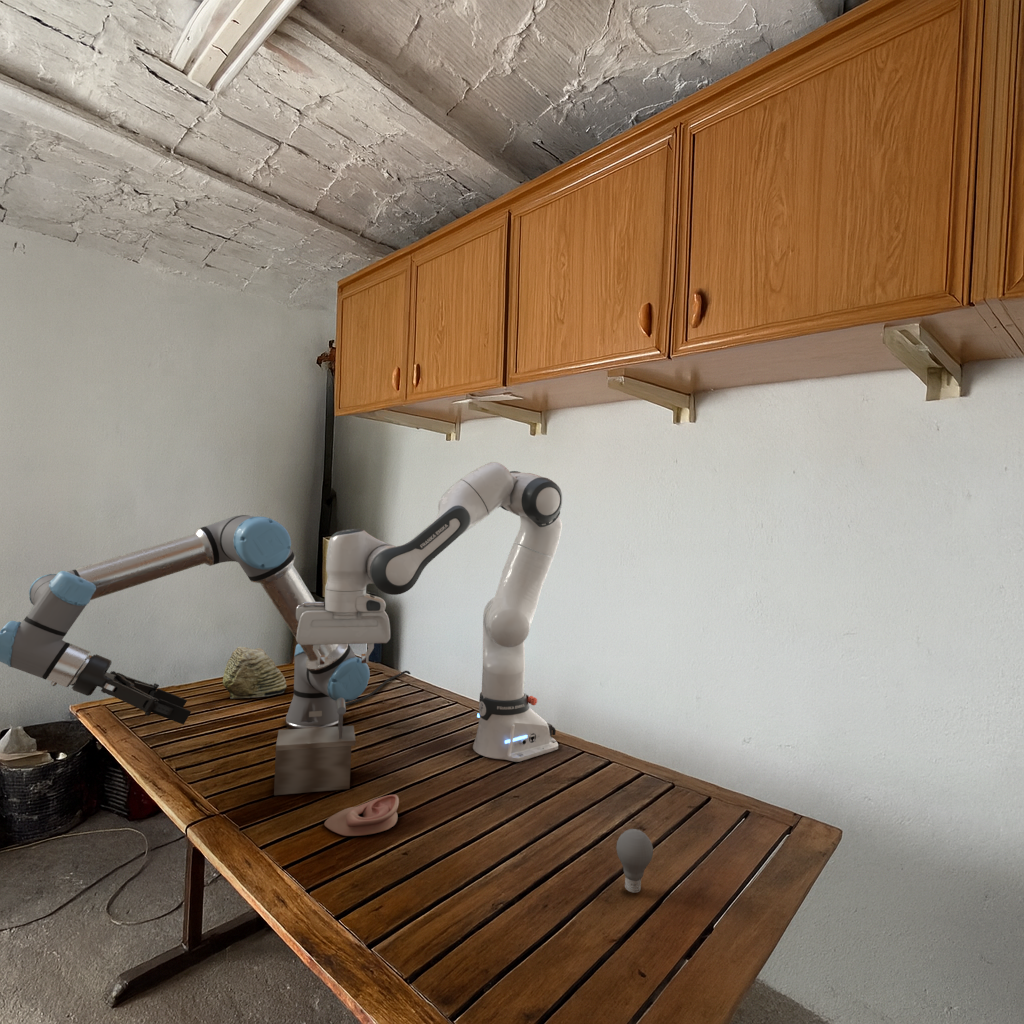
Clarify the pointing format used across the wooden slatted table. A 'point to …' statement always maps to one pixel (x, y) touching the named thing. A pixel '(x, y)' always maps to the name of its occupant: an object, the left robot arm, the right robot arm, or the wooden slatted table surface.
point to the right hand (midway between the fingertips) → (343, 663)
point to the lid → (318, 735)
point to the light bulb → (634, 857)
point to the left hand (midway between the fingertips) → (185, 711)
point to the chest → (312, 770)
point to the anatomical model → (365, 817)
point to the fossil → (252, 674)
